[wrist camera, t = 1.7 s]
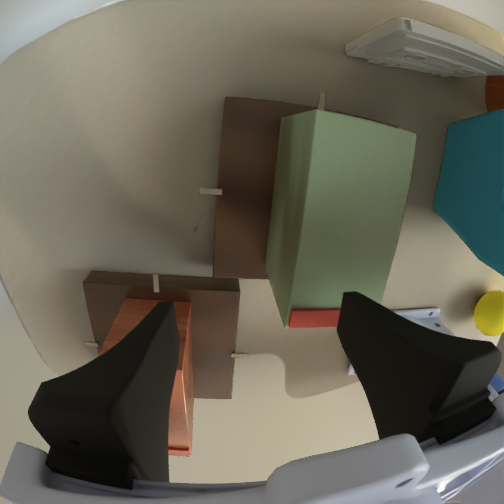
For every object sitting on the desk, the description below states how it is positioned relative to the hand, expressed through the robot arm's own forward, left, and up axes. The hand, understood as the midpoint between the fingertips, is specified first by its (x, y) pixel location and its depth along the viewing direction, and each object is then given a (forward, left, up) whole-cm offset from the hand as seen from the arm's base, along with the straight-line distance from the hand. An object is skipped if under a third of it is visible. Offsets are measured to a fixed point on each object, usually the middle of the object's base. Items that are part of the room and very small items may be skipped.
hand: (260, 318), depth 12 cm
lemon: (-30, +6, -10) cm, 32 cm away
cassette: (-12, -16, -10) cm, 22 cm away
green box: (-4, -3, -8) cm, 10 cm away
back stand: (+6, +9, -10) cm, 15 cm away
